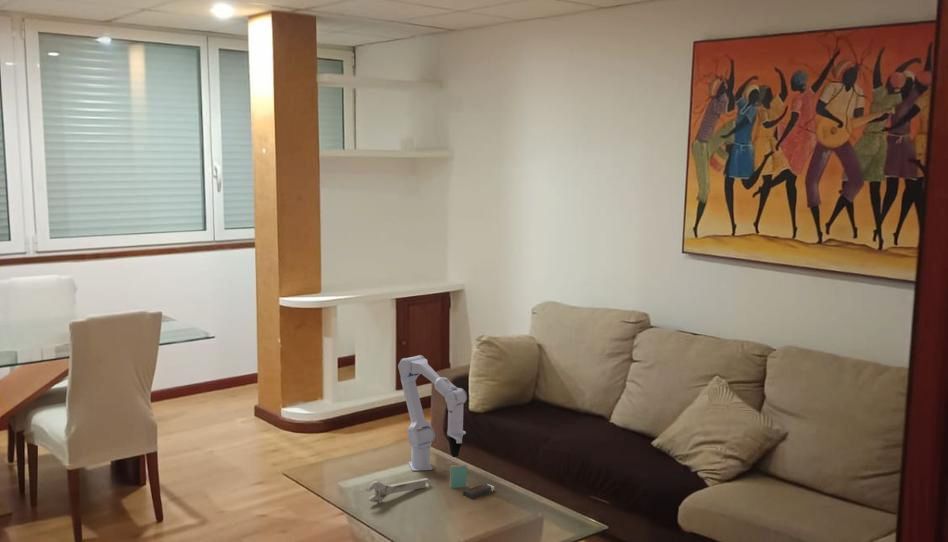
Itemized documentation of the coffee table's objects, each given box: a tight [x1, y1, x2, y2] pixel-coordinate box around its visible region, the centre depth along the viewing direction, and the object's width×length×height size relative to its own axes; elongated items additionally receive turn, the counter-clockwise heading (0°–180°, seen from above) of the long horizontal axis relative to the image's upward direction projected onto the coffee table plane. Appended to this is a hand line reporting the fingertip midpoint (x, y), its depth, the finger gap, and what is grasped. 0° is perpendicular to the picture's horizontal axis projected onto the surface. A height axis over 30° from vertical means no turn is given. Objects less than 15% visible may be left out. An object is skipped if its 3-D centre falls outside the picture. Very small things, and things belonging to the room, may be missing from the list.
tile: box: [449, 464, 468, 489], centre depth 303 cm, size 2×6×8 cm, turn 104°
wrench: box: [365, 477, 432, 504], centre depth 293 cm, size 8×2×30 cm
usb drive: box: [462, 483, 496, 500], centre depth 297 cm, size 5×12×3 cm, turn 133°
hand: (454, 455), depth 309 cm, fingers closed
